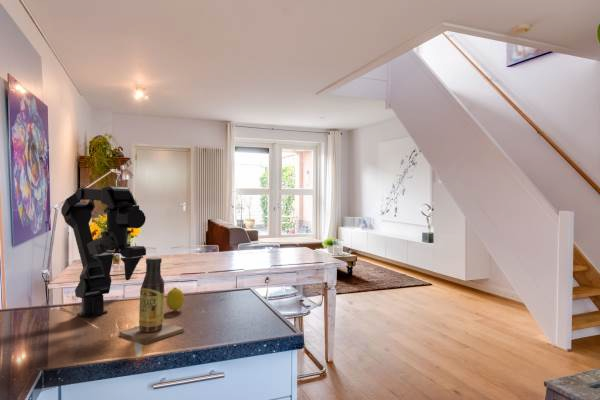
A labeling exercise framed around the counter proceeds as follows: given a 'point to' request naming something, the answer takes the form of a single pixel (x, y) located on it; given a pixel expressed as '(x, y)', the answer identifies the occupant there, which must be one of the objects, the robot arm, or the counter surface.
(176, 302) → the lemon
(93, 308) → the robot arm
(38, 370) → the counter surface
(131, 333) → the walnut board
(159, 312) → the sauce bottle
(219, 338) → the counter surface
